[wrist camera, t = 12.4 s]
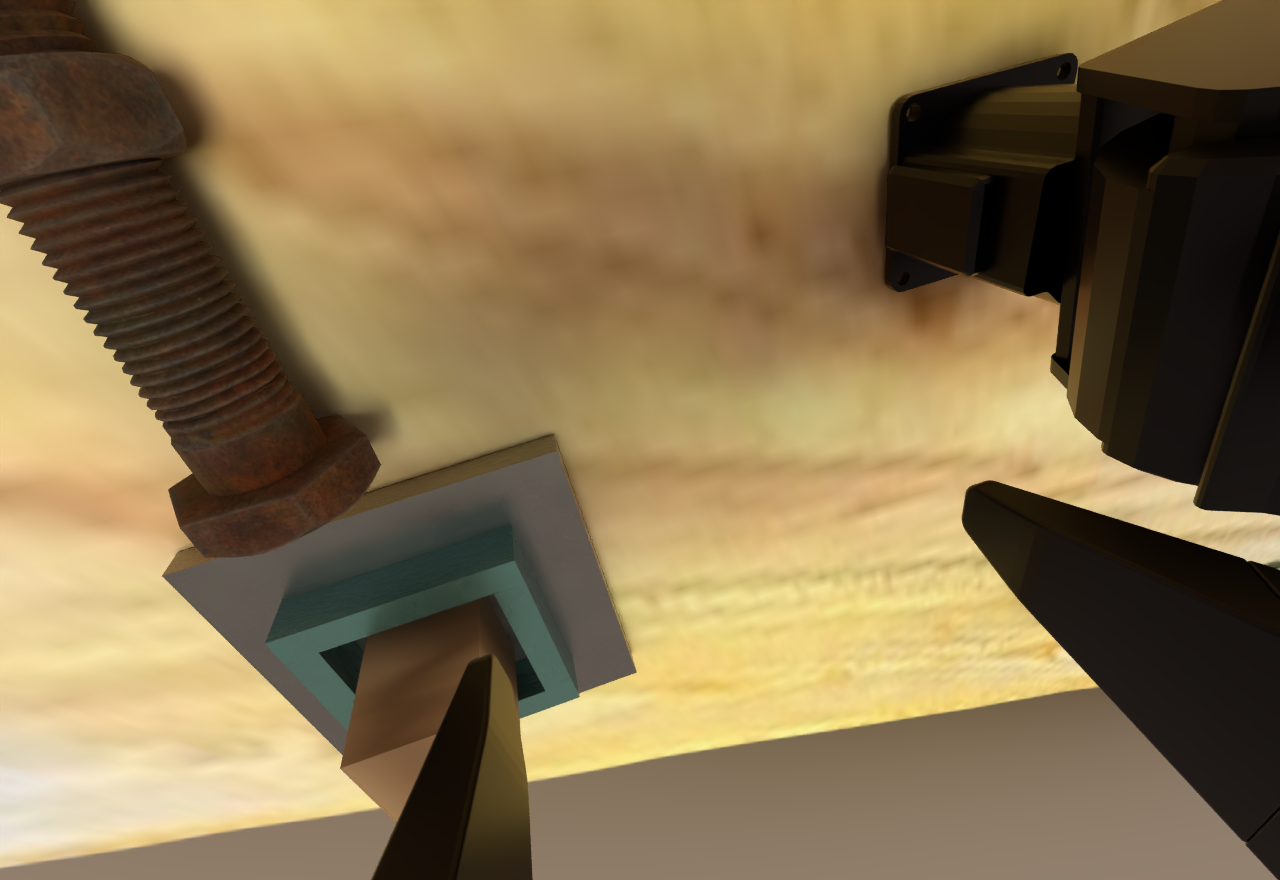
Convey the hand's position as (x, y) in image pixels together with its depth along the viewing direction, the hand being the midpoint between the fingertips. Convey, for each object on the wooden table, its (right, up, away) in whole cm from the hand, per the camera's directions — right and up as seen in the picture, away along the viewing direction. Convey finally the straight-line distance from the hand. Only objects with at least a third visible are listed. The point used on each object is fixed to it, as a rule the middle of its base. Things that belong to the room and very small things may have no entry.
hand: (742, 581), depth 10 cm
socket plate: (-10, -5, +15) cm, 19 cm away
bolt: (-15, +8, +6) cm, 18 cm away
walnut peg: (-10, -6, +14) cm, 18 cm away
